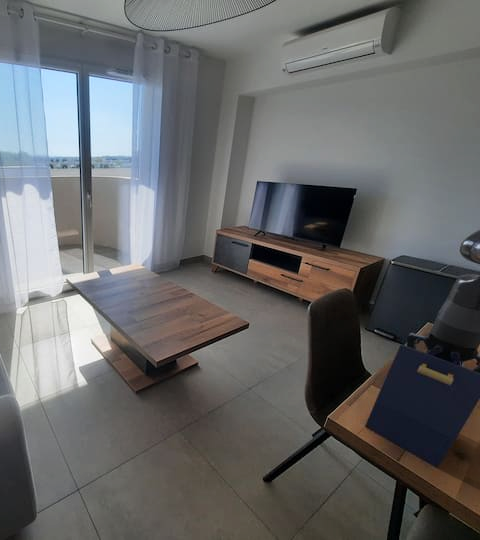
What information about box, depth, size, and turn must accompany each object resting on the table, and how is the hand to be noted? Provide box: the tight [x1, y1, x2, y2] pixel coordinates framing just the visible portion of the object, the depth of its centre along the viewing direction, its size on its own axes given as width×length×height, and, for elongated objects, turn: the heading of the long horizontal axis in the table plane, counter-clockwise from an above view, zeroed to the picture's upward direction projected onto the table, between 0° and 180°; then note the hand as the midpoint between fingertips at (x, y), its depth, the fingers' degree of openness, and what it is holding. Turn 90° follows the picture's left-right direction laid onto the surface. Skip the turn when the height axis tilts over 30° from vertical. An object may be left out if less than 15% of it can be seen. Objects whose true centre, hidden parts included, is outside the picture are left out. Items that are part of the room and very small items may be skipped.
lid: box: [375, 343, 480, 442], centre depth 64 cm, size 16×14×5 cm
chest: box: [364, 400, 455, 469], centre depth 74 cm, size 16×14×9 cm
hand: (431, 381), depth 70 cm, fingers closed on beverage can, 5 cm apart
